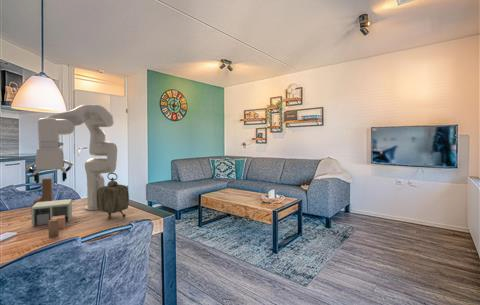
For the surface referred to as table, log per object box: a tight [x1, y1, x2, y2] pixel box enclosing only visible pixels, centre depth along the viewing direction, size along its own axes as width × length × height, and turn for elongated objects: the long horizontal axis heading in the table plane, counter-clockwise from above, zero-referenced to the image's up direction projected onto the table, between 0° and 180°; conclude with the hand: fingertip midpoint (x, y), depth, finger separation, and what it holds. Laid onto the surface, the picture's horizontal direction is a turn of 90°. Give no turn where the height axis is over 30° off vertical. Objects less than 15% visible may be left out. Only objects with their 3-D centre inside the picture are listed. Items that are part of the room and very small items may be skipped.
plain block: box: [36, 212, 50, 226], centre depth 124 cm, size 5×5×5 cm
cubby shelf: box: [31, 198, 73, 228], centre depth 127 cm, size 15×12×10 cm
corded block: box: [47, 215, 66, 239], centre depth 112 cm, size 5×17×7 cm, turn 30°
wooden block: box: [33, 177, 54, 206], centre depth 156 cm, size 9×4×18 cm, turn 120°
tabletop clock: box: [97, 172, 130, 220], centre depth 132 cm, size 14×9×25 cm, turn 71°
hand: (51, 181), depth 111 cm, fingers open, 9 cm apart
